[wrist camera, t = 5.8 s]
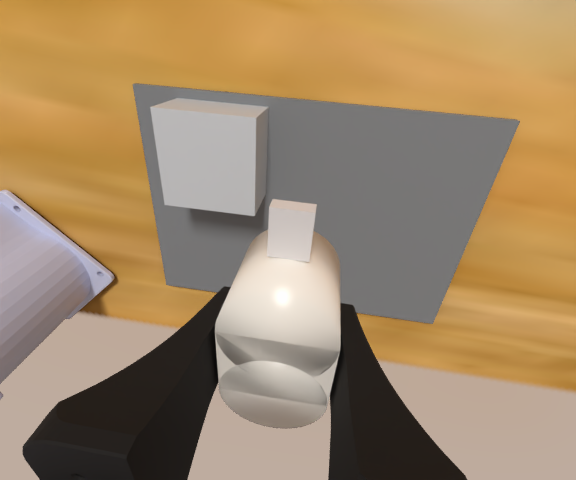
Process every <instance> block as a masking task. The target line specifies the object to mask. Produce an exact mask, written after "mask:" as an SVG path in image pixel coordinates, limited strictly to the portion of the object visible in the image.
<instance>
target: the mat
mask: <svg viewBox="0 0 576 480" xmlns="http://www.w3.org/2000/svg"><path fill="white" fill-rule="evenodd" d="M133 89H134V95H135V101H136V107H137V113H138V119H139V125H140V131H141V137H142V143H143V148H144V154H145V160H146V166H147V172H148V178H149V184H150V190H151V196H152V202H153V208H154V214H155V220H156V226H157V231H158V237H159V243H160V249H161V255H162V261H163V267H164V273H165V279H166V285H171V286H178V287H184V288H191V289H198V290H205V291H212V292H219V291H220V289H221V288H223V287H224V286H226V287H231V286H232V284H233V281H234V279H235V277H236V275H237V272H238V270H239V268H240V266H241V263H242V261H243V259H244V257H245V254H246V252H247V250H248V248H249V246H250V244H251V242H252V241H253V240H254V239H255V238H256V237H257V236H258V235H259V234H261V233H262V232H264V231H266V230H268V222H269V206H270V204H271V202H272V199H277V200H285V201H293V202H302V203H310V204H317V207H316V214H315V222H314V230H313V231H315V232H317V233H318V234H320V235H322V236H323V237H324V238H325V239H327V240H328V241H329V242H330V243H331V245H332V246H333V247H334V249H335V251H336V252H337V255H338V257H339V261H340V303H344V304H351V305H353V306H354V307H355V311H356V313H362V314H369V315H376V316H383V317H390V318H397V319H403V320H410V321H417V322H424V323H431V324H433V322H434V320H435V317H436V315H437V313H438V310H439V308H440V306H441V303H442V301H443V299H444V296H445V294H446V292H447V289H448V287H449V285H450V283H451V280H452V278H453V276H454V273H455V271H456V269H457V266H458V264H459V262H460V259H461V257H462V255H463V252H464V250H465V248H466V245H467V243H468V241H469V238H470V236H471V234H472V231H473V229H474V227H475V225H476V222H477V220H478V218H479V215H480V213H481V211H482V208H483V206H484V204H485V201H486V199H487V197H488V194H489V192H490V190H491V187H492V185H493V183H494V180H495V178H496V176H497V173H498V171H499V169H500V166H501V164H502V162H503V160H504V157H505V155H506V153H507V150H508V148H509V146H510V143H511V141H512V139H513V136H514V134H515V132H516V129H517V127H518V125H519V122H520V121H518V120H515V119H505V118H494V117H484V116H473V115H463V114H452V113H442V112H431V111H421V110H410V109H400V108H389V107H379V106H368V105H358V104H347V103H337V102H326V101H316V100H305V99H295V98H284V97H274V96H263V95H253V94H242V93H232V92H221V91H211V90H200V89H190V88H179V87H169V86H158V85H148V84H137V83H136V84H133ZM176 98H184V99H194V100H204V101H214V102H224V103H235V104H245V105H255V106H265V107H269V111H268V140H267V169H266V194H265V196H264V198H263V200H262V202H261V204H260V207H259V209H258V211H257V213H256V215H255V216H249V215H241V214H233V213H225V212H217V211H209V210H201V209H193V208H185V207H177V206H169V205H165V204H164V197H163V190H162V184H161V177H160V170H159V163H158V156H157V150H156V143H155V136H154V129H153V123H152V116H151V109H150V107H152V106H155V105H158V104H161V103H164V102H167V101H170V100H173V99H176Z"/></svg>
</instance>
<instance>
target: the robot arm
mask: <svg viewBox="0 0 576 480" xmlns="http://www.w3.org/2000/svg"><path fill="white" fill-rule="evenodd" d="M113 280H114V275H113V274H112V273H111V272H110V271H109V270H108V269H106V268H105V267H104V266H103V265H101V264H100V263H99V262H98V261H96V260H95V259H94V258H93V257H91V256H90V255H89V254H88V253H86V252H85V251H84V250H83V249H81V248H80V247H79V246H78V245H76V244H75V243H74V242H73V241H71V240H70V239H69V238H68V237H66V236H65V235H64V234H63V233H61V232H60V231H59V230H58V229H56V228H55V227H54V226H53V225H51V224H50V223H49V222H48V221H46V220H45V219H44V218H43V217H41V216H40V215H39V214H38V213H36V212H35V211H34V210H33V209H31V208H30V207H29V206H28V205H26V204H25V203H24V202H22V201H21V200H20V199H19V198H17V197H16V196H15V195H14V194H12V193H11V192H10V191H8V190H2V191H0V384H1V383H2V381H4V379H6V377H7V376H9V374H10V373H12V371H14V369H16V368H17V366H19V364H21V363H22V362H23V361H24V359H25V358H27V356H28V355H29V354H30V353H31V352H32V351H33V350H34V349H35V348H36V347H37V346H38V345H39V344H40V343H41V342H42V341H43V340H44V339H45V338H46V337H47V336H48V335H49V334H50V333H51V332H52V331H53V330H54V329H55V328H56V327H57V326H58V325H59V324H60V323H61V322H62V321H63V320H64V319H70V318H71V317H73V316H74V315H75V314H76V313H77V312H78V311H79V310H80V309H82V308H83V307H84V306H85V305H86V304H87V303H88V302H90V301H91V300H92V299H93V298H94V297H95V296H96V295H97V294H99V293H100V292H101V291H102V290H103V289H104V288H105V287H107V286H108V285H109V284H110V283H111V282H112V281H113ZM230 288H231V287H226V286H224V287H223V288H221V289H220V291H219V292H218V293H217V294H216V295H215V296H214V297H213V298H212V299H211V300H210V301H209V302H208V303H207V304H206V305H205V306H204V307H203V308H202V309H201V310H200V311H199V312H198V313H197V314H196V315H195V316H194V317H193V318H192V319H191V320H189V321H188V322H187V323H186V324H185V325H184V326H183V327H181V328H180V329H179V330H178V331H177V332H176V333H174V334H173V335H172V336H171V337H170V338H168V339H167V340H166V341H165V342H163V343H162V344H161V345H159V346H158V347H156V348H155V349H154V350H152V351H151V352H149V353H148V354H146V355H145V356H143V357H142V358H141V359H139V360H137V361H136V362H134V363H133V364H131V365H130V366H128V367H126V368H125V369H123V370H121V371H119V372H118V373H116V374H114V375H112V376H111V377H109V378H108V379H105V380H104V381H102V382H100V383H98V384H96V385H94V386H92V387H90V388H88V389H86V390H84V391H82V392H79V393H77V394H75V395H73V396H71V397H69V398H67V399H65V400H62V401H60V402H59V403H58V404H57V405H56V406H55V407H54V408H53V409H52V410H51V412H49V414H48V415H47V416H46V417H45V419H44V420H43V421H42V423H41V424H40V425H39V426H38V428H37V429H36V430H35V432H34V433H33V434H32V435H31V437H30V438H29V439H28V440H27V442H26V443H25V444H24V446H23V456H24V458H25V460H26V461H27V462H28V464H29V465H30V467H31V468H32V469H33V471H34V472H35V473H36V475H37V476H38V477H39V479H40V480H187V478H188V475H189V471H190V468H191V464H192V460H193V457H194V453H195V450H196V447H197V443H198V440H199V436H200V433H201V430H202V426H203V423H204V420H205V417H206V413H207V410H208V407H209V404H210V401H211V399H212V396H213V393H214V391H215V389H216V386H217V384H218V368H217V354H216V340H215V324H216V320H217V317H218V315H219V313H220V311H221V308H222V306H223V304H224V302H225V299H226V297H227V295H228V293H229V290H230ZM340 326H341V346H340V353H339V357H338V361H337V366H336V370H335V374H334V379H333V383H332V387H331V392H330V406H331V439H330V460H329V479H328V480H467V479H466V476H465V475H464V474H463V473H462V472H461V471H460V470H459V469H458V467H457V466H456V465H455V464H454V463H453V462H452V461H451V460H450V459H449V458H448V457H447V456H446V455H445V454H444V453H443V451H442V450H441V449H440V448H439V447H438V446H437V445H436V444H435V442H434V441H433V440H432V439H431V438H430V436H429V435H428V434H427V433H426V432H425V430H424V429H423V428H422V427H421V425H420V424H419V423H418V421H417V420H416V419H415V418H414V416H413V415H412V414H411V412H410V411H409V410H408V409H407V407H406V406H405V404H404V403H403V401H402V400H401V399H400V397H399V396H398V394H397V393H396V391H395V390H394V388H393V387H392V385H391V384H390V382H389V381H388V379H387V377H386V375H385V374H384V372H383V370H382V368H381V367H380V365H379V363H378V361H377V359H376V357H375V355H374V353H373V352H372V349H371V347H370V345H369V343H368V341H367V339H366V337H365V334H364V332H363V330H362V327H361V325H360V322H359V320H358V317H357V314H356V311H355V307H354V306H353V305H351V304H344V303H340ZM2 397H3V394H2V393H1V392H0V399H1V398H2Z"/></svg>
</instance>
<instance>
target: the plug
mask: <svg viewBox="0 0 576 480" xmlns="http://www.w3.org/2000/svg"><path fill="white" fill-rule="evenodd" d="M316 207H317V204H310V203H302V202H293V201H285V200H277V199H272V202H271V204H270V206H269V222H268V230H266V231H264V232H262V233H261V234H259V235H258V236H257V237H256V238H255V239H254V240H253V241H252V242H251V244H250V246H249V248H248V250H247V252H246V254H245V257H244V259H243V261H242V263H241V266H240V268H239V270H238V272H237V275H236V277H235V279H234V281H233V284H232V286H231V288H230V290H229V293H228V295H227V297H226V299H225V302H224V304H223V306H222V308H221V311H220V313H219V315H218V317H217V320H216V324H215V340H216V354H217V368H218V382H219V391H220V394H221V397H222V399H223V401H224V402H225V403H226V405H227V406H228V407H229V408H230V409H231V410H233V411H234V412H235V413H236V414H238V415H240V416H241V417H243V418H245V419H247V420H249V421H251V422H254V423H256V424H260V425H263V426H268V427H273V428H297V427H302V426H306V425H308V424H311V423H313V422H315V421H317V420H318V419H319V418H320V417H321V416H322V415H323V414H324V412H325V411H326V408H327V404H328V400H329V396H330V392H331V387H332V383H333V379H334V374H335V370H336V366H337V361H338V357H339V353H340V346H341V326H340V261H339V257H338V255H337V252H336V251H335V249H334V247H333V246H332V245H331V243H330V242H329V241H328V240H327V239H325V238H324V237H323V236H322V235H320V234H318V233H317V232H315V231H313V230H314V222H315V214H316Z"/></svg>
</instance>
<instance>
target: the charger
mask: <svg viewBox="0 0 576 480" xmlns="http://www.w3.org/2000/svg"><path fill="white" fill-rule="evenodd" d="M150 109H151V116H152V123H153V129H154V136H155V143H156V150H157V156H158V163H159V170H160V177H161V184H162V190H163V197H164V204H165V205H169V206H177V207H185V208H193V209H201V210H209V211H217V212H225V213H233V214H241V215H249V216H255V215H256V213H257V211H258V209H259V207H260V204H261V202H262V200H263V198H264V196H265V194H266V169H267V140H268V111H269V107H265V106H255V105H245V104H235V103H224V102H214V101H204V100H194V99H184V98H176V99H173V100H170V101H167V102H164V103H161V104H158V105H155V106H152V107H150Z"/></svg>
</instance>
